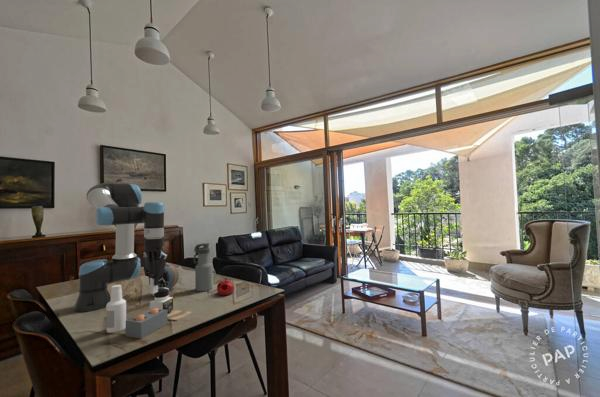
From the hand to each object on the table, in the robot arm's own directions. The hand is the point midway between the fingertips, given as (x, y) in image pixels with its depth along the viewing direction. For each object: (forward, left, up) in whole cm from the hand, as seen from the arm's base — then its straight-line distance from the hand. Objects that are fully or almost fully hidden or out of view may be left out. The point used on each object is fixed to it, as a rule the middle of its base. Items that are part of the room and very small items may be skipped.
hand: (154, 292), depth 113 cm
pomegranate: (+6, +44, -14) cm, 47 cm away
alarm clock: (-29, +36, -14) cm, 48 cm away
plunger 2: (0, 0, -12) cm, 12 cm away
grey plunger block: (0, -4, -14) cm, 14 cm away
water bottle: (-12, +48, -14) cm, 52 cm away
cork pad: (+2, +11, -14) cm, 18 cm away
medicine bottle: (-7, +11, -14) cm, 19 cm away
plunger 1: (0, -7, -12) cm, 14 cm away
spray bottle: (-13, -7, -14) cm, 20 cm away
